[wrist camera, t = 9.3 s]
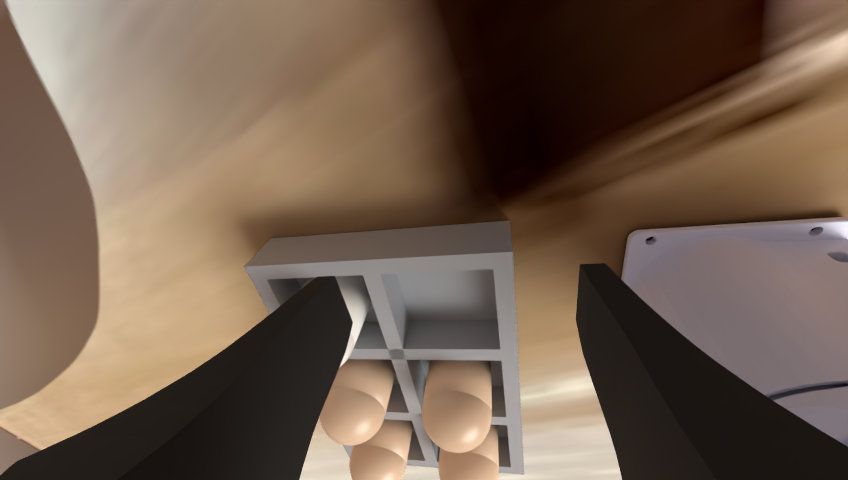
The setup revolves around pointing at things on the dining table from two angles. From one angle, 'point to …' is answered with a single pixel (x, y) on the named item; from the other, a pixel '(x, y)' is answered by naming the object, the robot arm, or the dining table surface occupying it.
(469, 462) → the egg carton
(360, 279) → the white egg
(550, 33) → the dining table surface
